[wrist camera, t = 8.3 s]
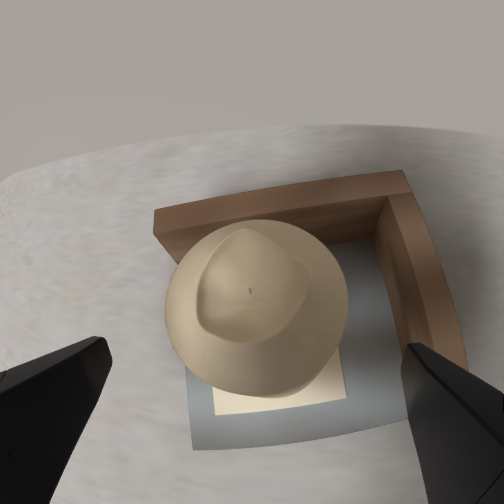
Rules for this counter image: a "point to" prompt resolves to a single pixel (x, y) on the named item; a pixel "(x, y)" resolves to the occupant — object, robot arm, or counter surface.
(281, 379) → the candle
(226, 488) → the counter surface
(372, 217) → the frame
